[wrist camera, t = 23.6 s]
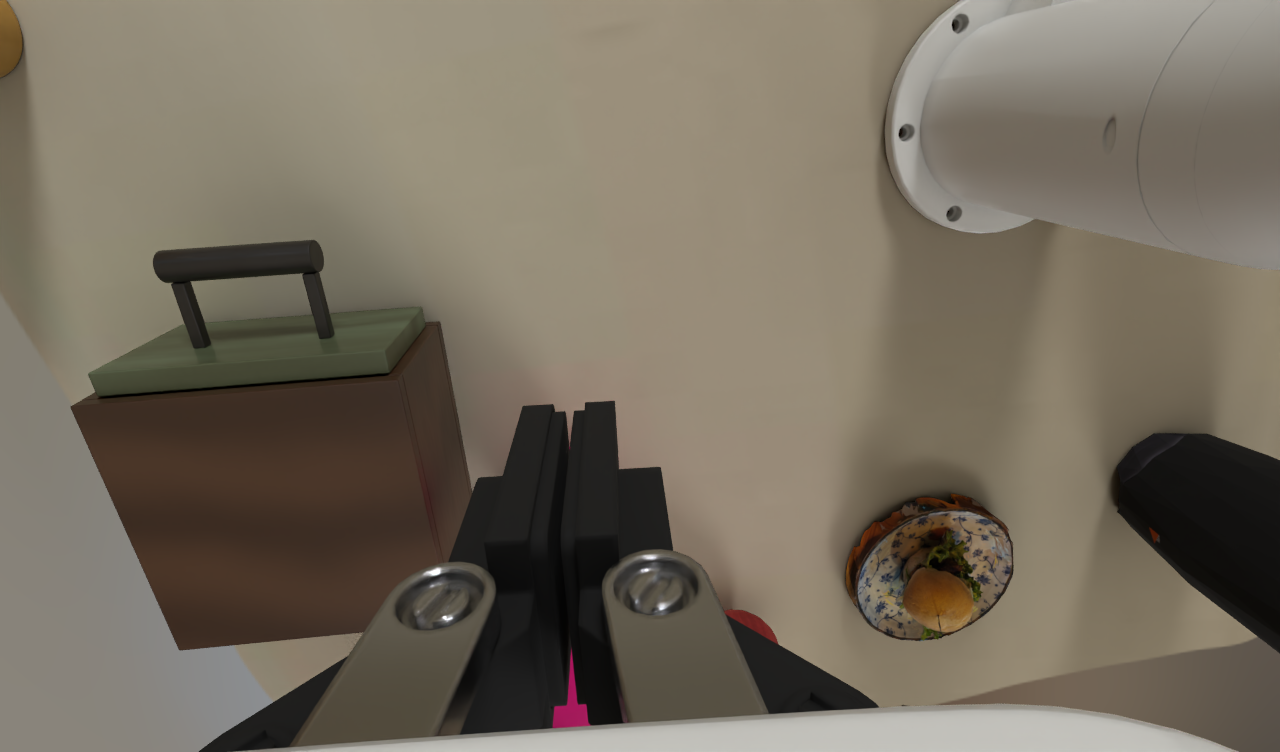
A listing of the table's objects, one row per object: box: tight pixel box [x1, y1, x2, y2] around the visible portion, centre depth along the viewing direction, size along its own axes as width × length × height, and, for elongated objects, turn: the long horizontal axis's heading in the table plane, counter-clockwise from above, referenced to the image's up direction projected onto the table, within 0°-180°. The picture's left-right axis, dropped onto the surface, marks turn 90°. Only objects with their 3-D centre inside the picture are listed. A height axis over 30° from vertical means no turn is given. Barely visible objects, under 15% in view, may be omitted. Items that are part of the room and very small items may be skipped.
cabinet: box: [71, 321, 472, 650], centre depth 35 cm, size 14×14×9 cm
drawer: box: [88, 240, 426, 397], centre depth 34 cm, size 18×13×7 cm
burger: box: [846, 494, 1013, 641], centre depth 43 cm, size 12×12×8 cm
